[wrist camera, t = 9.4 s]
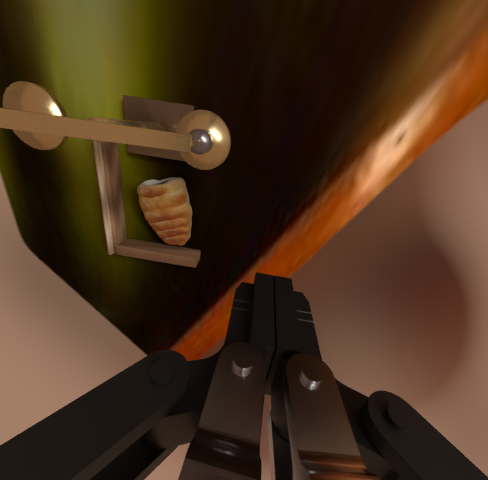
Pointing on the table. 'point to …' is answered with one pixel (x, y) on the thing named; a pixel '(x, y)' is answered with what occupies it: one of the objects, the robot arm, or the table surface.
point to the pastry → (167, 208)
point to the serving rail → (115, 216)
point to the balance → (119, 126)
